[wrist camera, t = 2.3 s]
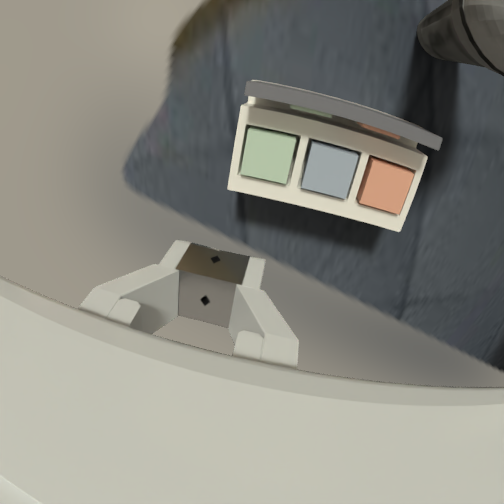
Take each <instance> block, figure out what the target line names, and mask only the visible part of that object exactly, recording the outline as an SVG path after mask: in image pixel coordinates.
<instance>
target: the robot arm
mask: <svg viewBox="0 0 504 504" xmlns="http://www.w3.org/2000/svg"><path fill="white" fill-rule="evenodd" d="M265 262H266V260H265V259H261V258H256V257H250V256H245V255H240V254H235V253H231V252H226V251H221V250H219V249H215V248H211V247H207V246H203V245H199V244H195V243H191V242H187V241H183V240H176V241H175V242H174V243H173V245H172V246H171V248H170V249H169V250H168V252H167V253H166V255H165V256H164V258H163V259H162V260H161V262H160V263H159V265H156V264H153V265H150V266H148V267H145V268H143V269H140V270H138V271H135V272H132V273H130V274H127V275H124V276H122V277H119V278H117V279H114V280H112V281H109V282H107V283H104V284H102V285H99V286H97V287H94V289H93V290H92V291H91V293H90V294H89V295H88V296H87V297H86V299H85V300H84V301H83V302H82V304H81V305H80V306H79V308H78V309H77V308H74V307H72V306H69V305H67V304H64V303H62V302H59V301H57V300H54V299H52V298H49V297H47V296H45V295H42V294H40V293H37V292H35V291H33V290H31V289H28V288H26V287H24V286H22V285H19V284H17V283H15V282H13V281H11V280H9V279H6V278H4V277H2V276H0V504H504V387H447V386H428V385H413V384H401V383H390V382H380V381H371V380H363V379H355V378H348V377H340V376H333V375H326V374H320V373H314V372H308V371H302V370H297V365H298V347H299V341H298V339H297V338H296V336H295V335H294V333H293V332H292V330H291V329H290V327H289V326H288V324H287V323H286V322H285V320H284V319H283V317H282V316H281V314H280V313H279V311H278V310H277V308H276V307H275V306H274V304H273V303H272V301H271V300H270V298H269V297H268V295H267V294H266V292H265V291H263V290H260V287H261V282H262V277H263V272H264V267H265ZM178 315H179V316H183V317H187V318H191V319H196V320H200V321H204V322H207V323H211V324H215V325H218V326H222V327H226V328H228V330H229V332H230V335H231V338H232V340H233V343H234V345H235V347H234V351H233V354H232V356H230V355H226V354H222V353H218V352H213V351H210V350H206V349H202V348H198V347H195V346H191V345H187V344H183V343H180V342H176V341H173V340H169V339H166V338H162V337H159V336H156V335H152V334H153V333H154V332H155V331H157V330H159V329H160V328H161V327H163V326H164V325H166V324H167V323H169V322H170V321H172V320H173V319H175V318H176V317H178Z"/></svg>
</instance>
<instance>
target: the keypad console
mask: <svg viewBox="0 0 504 504" xmlns="http://www.w3.org/2000/svg"><path fill="white" fill-rule="evenodd" d="M244 95H246V96H249V98H248V102H247V103H245V104H243V105H241V109H240V115H239V121H238V126H237V132H236V138H235V144H234V150H233V157H232V163H231V169H230V175H229V182H228V188H227V189H228V190H232V191H237V192H242V193H246V194H251V195H256V196H260V197H265V198H269V199H273V200H278V201H282V202H286V203H291V204H295V205H299V206H303V207H307V208H311V209H315V210H319V211H323V212H327V213H331V214H335V215H339V216H343V217H347V218H350V219H354V220H358V221H362V222H365V223H369V224H373V225H376V226H380V227H383V228H387V229H390V230H394V231H397V232H400V230H401V228H402V225H403V223H404V221H405V218H406V216H407V213H408V211H409V208H410V206H411V203H412V200H413V198H414V195H415V193H416V190H417V187H418V184H419V182H420V179H421V176H422V173H423V170H424V167H425V165H426V162H427V159H428V156H426V155H425V154H423V153H422V152H421V151H419V150H418V149H416V146H417V143H420V144H423V145H425V146H428V147H430V148H433V149H435V150H438V151H439V149H440V146H441V142H442V139H443V138H441V137H439V136H437V135H435V134H433V133H431V132H429V131H427V130H425V129H423V128H422V127H420V126H418V125H416V124H413V123H411V122H408V121H406V120H403V119H400V118H398V117H395V116H392V115H389V114H386V113H384V112H381V111H378V110H375V109H372V108H369V107H365V106H362V105H359V104H356V103H352V102H349V101H346V100H342V99H339V98H335V97H331V96H328V95H324V94H320V93H316V92H312V91H308V90H303V89H299V88H294V87H290V86H285V85H280V84H275V83H270V82H264V81H259V80H252V81H247V83H246V88H245V94H244ZM251 126H256V127H261V128H266V129H271V130H276V131H280V132H285V133H289V134H294V135H297V137H296V143H295V147H294V152H293V156H292V160H291V165H290V169H289V173H288V178H287V182H286V184H283V183H279V182H275V181H270V180H266V179H261V178H257V177H252V176H247V175H242V174H240V173H241V167H242V161H243V155H244V150H245V144H246V138H247V133H248V129H249V128H250V127H251ZM311 139H314V140H318V141H322V142H326V143H330V144H333V145H337V146H341V147H344V148H348V149H351V150H354V151H355V152H356V153H357V155H358V156H359V157H358V160H357V164H356V167H355V170H354V174H353V177H352V180H351V183H350V187H349V190H348V193H347V196H346V199H343V198H340V197H336V196H332V195H328V194H324V193H320V192H316V191H312V190H308V189H304V188H301V179H302V175H303V171H304V167H305V163H306V159H307V155H308V151H309V147H310V143H311ZM369 155H371V156H374V157H377V158H381V159H384V160H387V161H390V162H393V163H396V164H399V165H401V166H404V167H407V168H408V169H409V170H410V171H411V172H412V173H413V174H414V176H413V179H412V182H411V185H410V188H409V190H408V193H407V196H406V199H405V201H404V204H403V206H402V209H401V212H400V214H396V213H392V212H389V211H386V210H382V209H379V208H376V207H372V206H369V205H365V204H362V203H359V200H358V198H357V193H358V190H359V187H360V183H361V180H362V177H363V174H364V171H365V168H366V164H367V161H368V158H369Z"/></svg>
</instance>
